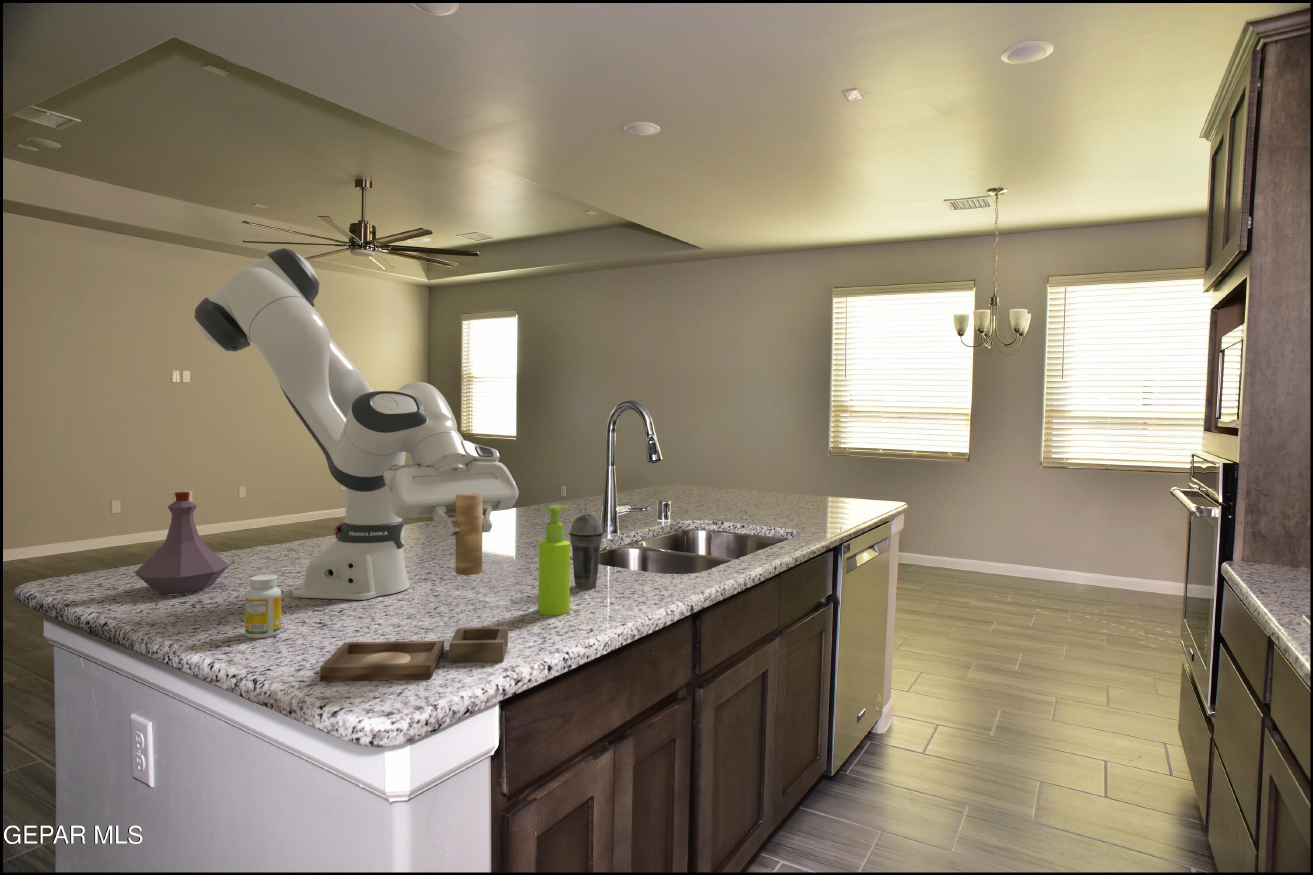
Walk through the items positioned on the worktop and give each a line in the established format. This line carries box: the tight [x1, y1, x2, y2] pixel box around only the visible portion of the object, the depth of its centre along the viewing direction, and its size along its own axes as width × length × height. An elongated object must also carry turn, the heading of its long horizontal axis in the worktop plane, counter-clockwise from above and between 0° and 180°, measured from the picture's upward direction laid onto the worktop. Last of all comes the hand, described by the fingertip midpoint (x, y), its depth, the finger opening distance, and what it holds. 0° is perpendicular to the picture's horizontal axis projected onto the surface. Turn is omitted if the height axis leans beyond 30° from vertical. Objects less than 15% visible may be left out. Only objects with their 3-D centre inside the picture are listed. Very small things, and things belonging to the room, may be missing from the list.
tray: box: [319, 640, 445, 683], centre depth 110 cm, size 15×11×2 cm
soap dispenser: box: [537, 504, 571, 616], centre depth 141 cm, size 6×7×20 cm
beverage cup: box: [568, 494, 604, 590], centre depth 159 cm, size 7×7×20 cm
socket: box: [448, 626, 509, 664], centre depth 116 cm, size 8×8×3 cm
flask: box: [134, 491, 230, 595], centre depth 152 cm, size 16×16×20 cm
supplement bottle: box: [244, 574, 282, 639], centre depth 124 cm, size 5×5×10 cm
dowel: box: [454, 493, 483, 576], centre depth 115 cm, size 4×4×12 cm
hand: (470, 531), depth 114 cm, fingers closed on dowel, 4 cm apart
